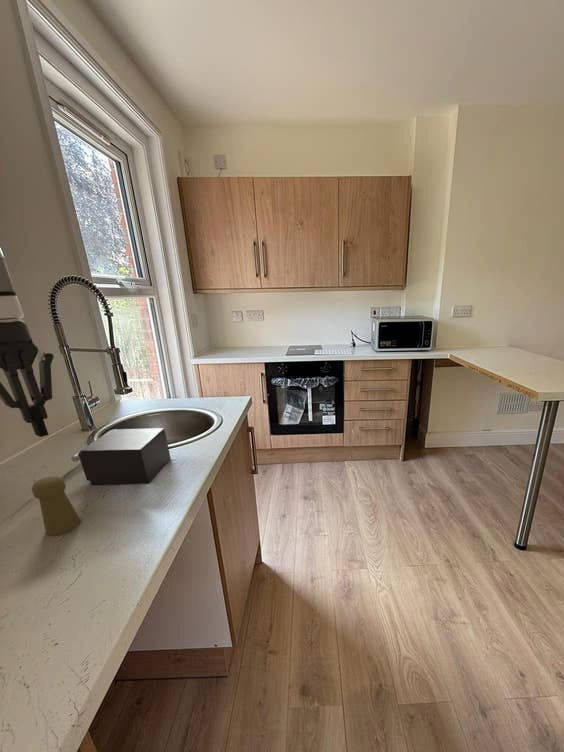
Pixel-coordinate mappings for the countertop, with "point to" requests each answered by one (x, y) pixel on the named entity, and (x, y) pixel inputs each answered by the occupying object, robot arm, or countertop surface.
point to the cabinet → (126, 456)
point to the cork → (55, 506)
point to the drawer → (79, 457)
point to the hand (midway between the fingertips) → (42, 434)
